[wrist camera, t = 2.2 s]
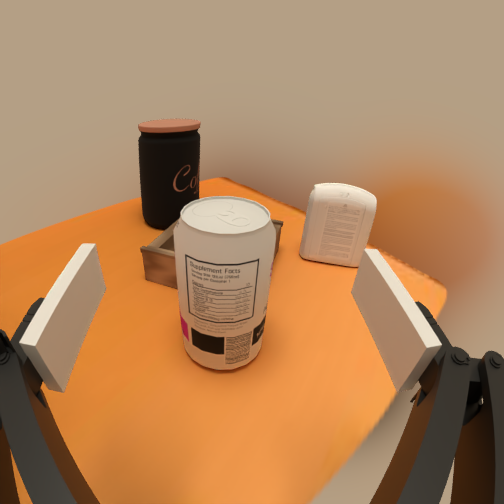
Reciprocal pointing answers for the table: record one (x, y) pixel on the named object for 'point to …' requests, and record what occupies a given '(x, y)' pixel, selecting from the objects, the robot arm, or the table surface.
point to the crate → (173, 256)
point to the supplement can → (223, 278)
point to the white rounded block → (337, 224)
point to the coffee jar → (168, 168)
